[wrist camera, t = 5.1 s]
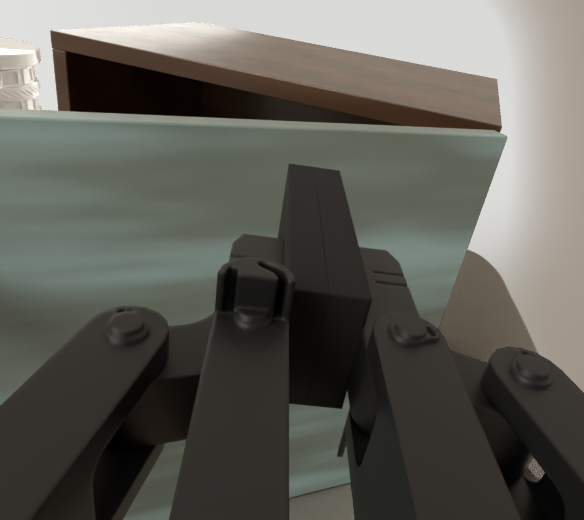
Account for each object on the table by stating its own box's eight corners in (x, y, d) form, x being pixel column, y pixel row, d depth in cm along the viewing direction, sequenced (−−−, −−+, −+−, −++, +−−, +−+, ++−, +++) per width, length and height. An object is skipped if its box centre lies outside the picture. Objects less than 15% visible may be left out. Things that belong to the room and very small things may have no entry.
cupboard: (384, 460, 35) (502, 126, 23) (80, 343, 41) (49, 30, 29) (416, 324, 50) (497, 79, 38) (190, 253, 56) (199, 22, 44)
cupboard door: (435, 556, 29) (620, 186, 18) (-94, 735, 20) (-448, 197, 8) (380, 461, 35) (494, 129, 23) (-58, 567, 25) (-241, 96, 14)
